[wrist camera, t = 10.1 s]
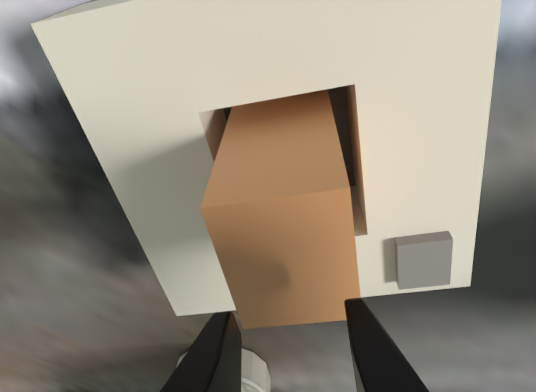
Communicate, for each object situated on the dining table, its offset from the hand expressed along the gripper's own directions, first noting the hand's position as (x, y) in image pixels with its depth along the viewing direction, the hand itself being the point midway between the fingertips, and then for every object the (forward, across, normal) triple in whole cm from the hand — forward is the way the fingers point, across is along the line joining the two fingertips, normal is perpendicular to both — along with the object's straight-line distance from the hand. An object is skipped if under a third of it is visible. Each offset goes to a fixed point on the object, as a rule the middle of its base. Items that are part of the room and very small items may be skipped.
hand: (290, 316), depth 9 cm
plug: (+10, 0, 0) cm, 10 cm away
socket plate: (+10, 0, 0) cm, 10 cm away
